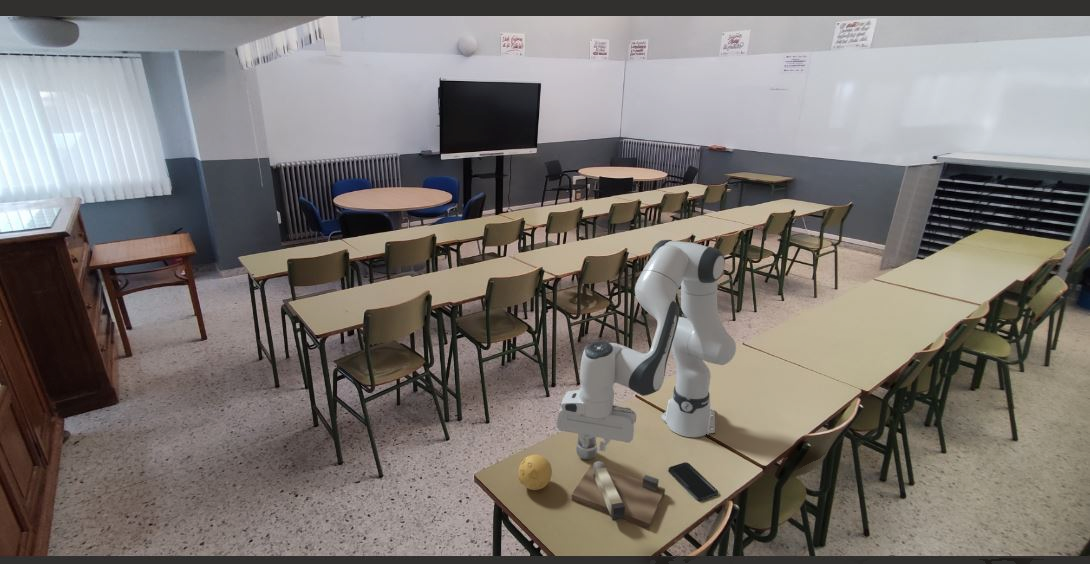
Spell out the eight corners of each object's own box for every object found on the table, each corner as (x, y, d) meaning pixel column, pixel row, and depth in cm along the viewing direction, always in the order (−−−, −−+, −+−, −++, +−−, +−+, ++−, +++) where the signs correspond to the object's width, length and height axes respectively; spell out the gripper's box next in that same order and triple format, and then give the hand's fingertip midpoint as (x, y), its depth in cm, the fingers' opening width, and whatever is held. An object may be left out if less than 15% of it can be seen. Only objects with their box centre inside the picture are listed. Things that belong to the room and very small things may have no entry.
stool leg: (591, 473, 157) (592, 461, 156) (601, 471, 158) (602, 460, 156) (612, 520, 140) (613, 508, 138) (624, 519, 140) (625, 506, 139)
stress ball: (545, 476, 160) (522, 454, 160) (563, 465, 154) (539, 442, 154) (530, 502, 152) (505, 478, 152) (548, 491, 146) (522, 466, 146)
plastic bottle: (595, 463, 165) (598, 409, 158) (574, 460, 166) (576, 406, 159) (597, 450, 171) (600, 397, 164) (577, 447, 172) (579, 395, 165)
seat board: (591, 468, 162) (592, 455, 161) (664, 494, 152) (666, 480, 151) (571, 499, 150) (571, 485, 148) (649, 529, 140) (650, 514, 138)
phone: (687, 461, 165) (720, 492, 152) (686, 464, 165) (719, 495, 152) (666, 468, 162) (698, 500, 149) (666, 471, 162) (698, 503, 149)
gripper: (638, 402, 134) (634, 447, 139) (561, 390, 139) (560, 434, 144) (635, 416, 129) (631, 462, 133) (555, 403, 134) (554, 448, 138)
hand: (593, 447), depth 139 cm, fingers open, 3 cm apart
